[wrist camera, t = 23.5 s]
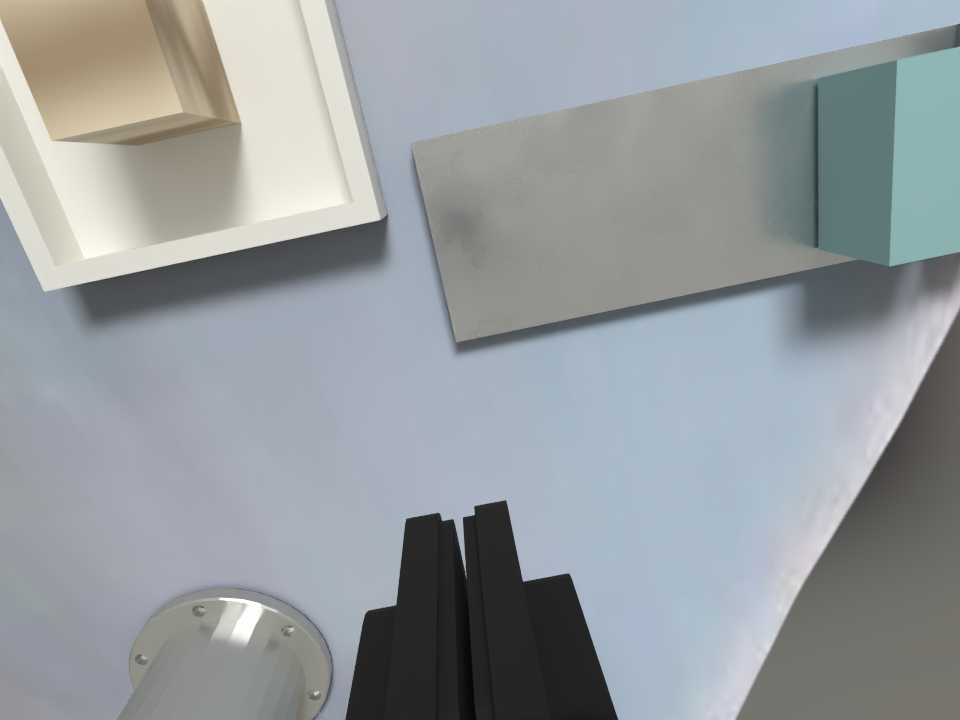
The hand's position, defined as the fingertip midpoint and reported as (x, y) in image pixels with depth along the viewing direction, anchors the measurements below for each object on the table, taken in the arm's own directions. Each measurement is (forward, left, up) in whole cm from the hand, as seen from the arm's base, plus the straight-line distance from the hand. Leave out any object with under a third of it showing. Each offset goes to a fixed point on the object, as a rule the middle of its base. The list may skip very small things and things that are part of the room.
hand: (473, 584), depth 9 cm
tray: (+13, +11, -22) cm, 28 cm away
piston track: (+3, -13, -22) cm, 26 cm away
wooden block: (+13, +11, -21) cm, 27 cm away
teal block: (+3, -21, -21) cm, 30 cm away
